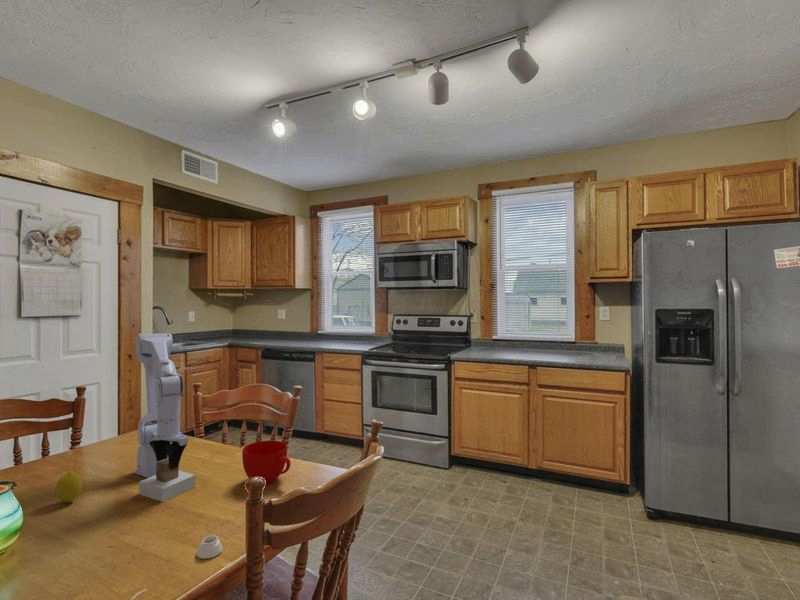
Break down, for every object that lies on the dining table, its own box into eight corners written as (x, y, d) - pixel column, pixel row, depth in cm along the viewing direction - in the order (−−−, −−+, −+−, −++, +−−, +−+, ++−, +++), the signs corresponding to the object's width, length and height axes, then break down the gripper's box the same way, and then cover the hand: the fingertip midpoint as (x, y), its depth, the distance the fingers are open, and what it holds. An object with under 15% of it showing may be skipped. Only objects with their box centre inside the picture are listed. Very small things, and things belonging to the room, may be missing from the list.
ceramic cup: (271, 498, 114) (271, 461, 114) (232, 483, 123) (232, 449, 123) (305, 481, 125) (305, 448, 125) (267, 468, 134) (267, 437, 134)
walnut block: (156, 479, 117) (156, 461, 117) (169, 474, 120) (169, 457, 120) (164, 482, 115) (165, 464, 115) (178, 477, 118) (178, 459, 118)
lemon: (87, 499, 112) (87, 470, 112) (64, 509, 106) (65, 478, 106) (73, 496, 113) (73, 467, 113) (50, 505, 108) (50, 475, 108)
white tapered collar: (212, 543, 92) (191, 555, 88) (213, 530, 92) (192, 541, 88) (227, 551, 90) (206, 563, 85) (227, 537, 90) (206, 549, 85)
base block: (139, 496, 115) (139, 481, 115) (172, 482, 124) (172, 468, 124) (162, 503, 111) (162, 488, 111) (195, 488, 120) (195, 474, 120)
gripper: (139, 418, 117) (138, 466, 117) (171, 425, 111) (170, 476, 111) (163, 412, 124) (162, 457, 124) (195, 419, 117) (194, 467, 117)
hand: (168, 466), depth 118 cm, fingers open, 5 cm apart
